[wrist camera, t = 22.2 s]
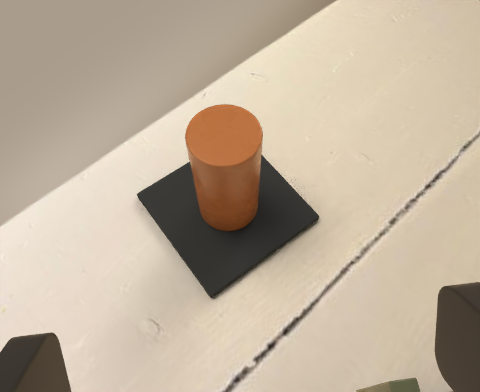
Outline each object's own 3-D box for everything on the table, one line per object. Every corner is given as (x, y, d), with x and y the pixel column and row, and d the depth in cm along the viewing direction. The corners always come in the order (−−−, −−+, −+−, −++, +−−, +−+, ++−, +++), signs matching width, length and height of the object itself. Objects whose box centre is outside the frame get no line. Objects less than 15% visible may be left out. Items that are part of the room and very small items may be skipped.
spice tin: (222, 242, 27) (214, 180, 20) (188, 199, 29) (170, 127, 22) (269, 209, 28) (278, 139, 21) (234, 170, 30) (232, 92, 23)
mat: (211, 298, 26) (210, 296, 25) (137, 197, 29) (136, 193, 29) (318, 219, 28) (319, 216, 28) (239, 134, 32) (239, 130, 31)
